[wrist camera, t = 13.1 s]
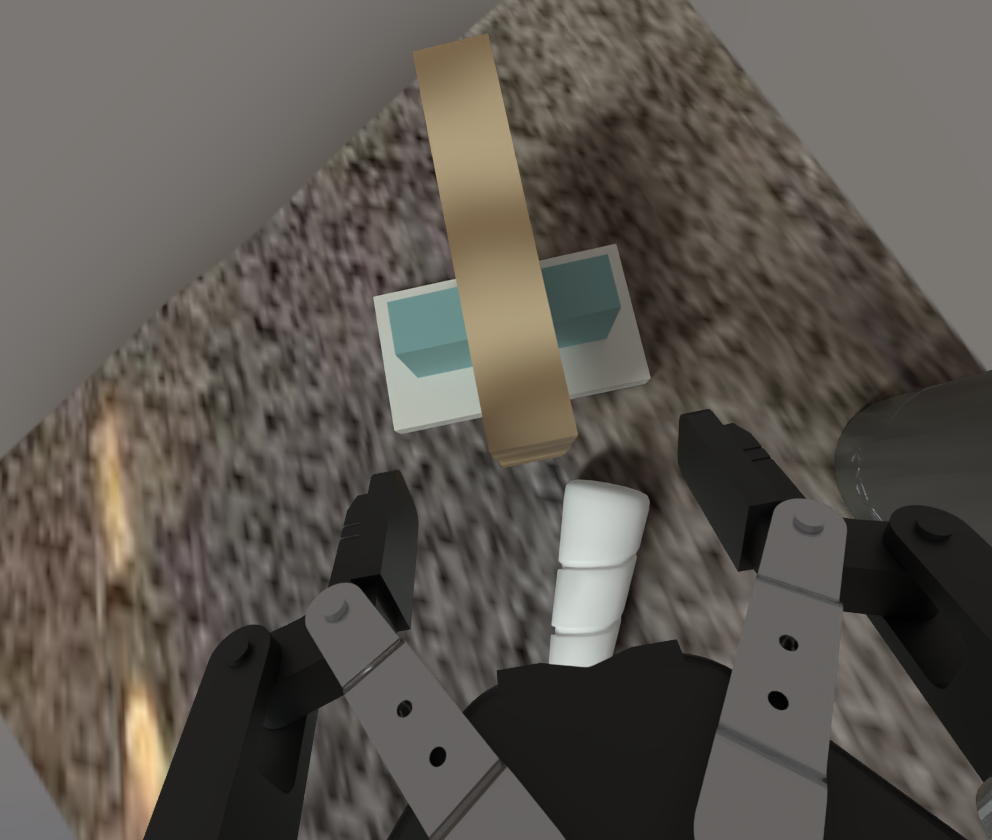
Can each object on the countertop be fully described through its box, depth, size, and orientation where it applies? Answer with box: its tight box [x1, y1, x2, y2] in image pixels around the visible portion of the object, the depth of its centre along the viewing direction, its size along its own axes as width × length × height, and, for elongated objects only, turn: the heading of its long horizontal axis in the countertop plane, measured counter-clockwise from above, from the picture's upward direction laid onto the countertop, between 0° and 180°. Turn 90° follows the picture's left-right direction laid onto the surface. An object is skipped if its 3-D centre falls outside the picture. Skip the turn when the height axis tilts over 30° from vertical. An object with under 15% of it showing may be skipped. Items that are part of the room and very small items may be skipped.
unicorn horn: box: [549, 479, 650, 667], centre depth 26 cm, size 5×24×5 cm, turn 166°
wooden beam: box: [413, 34, 578, 468], centre depth 21 cm, size 16×3×8 cm, turn 11°
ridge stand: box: [374, 244, 651, 434], centre depth 28 cm, size 16×9×6 cm, turn 101°
